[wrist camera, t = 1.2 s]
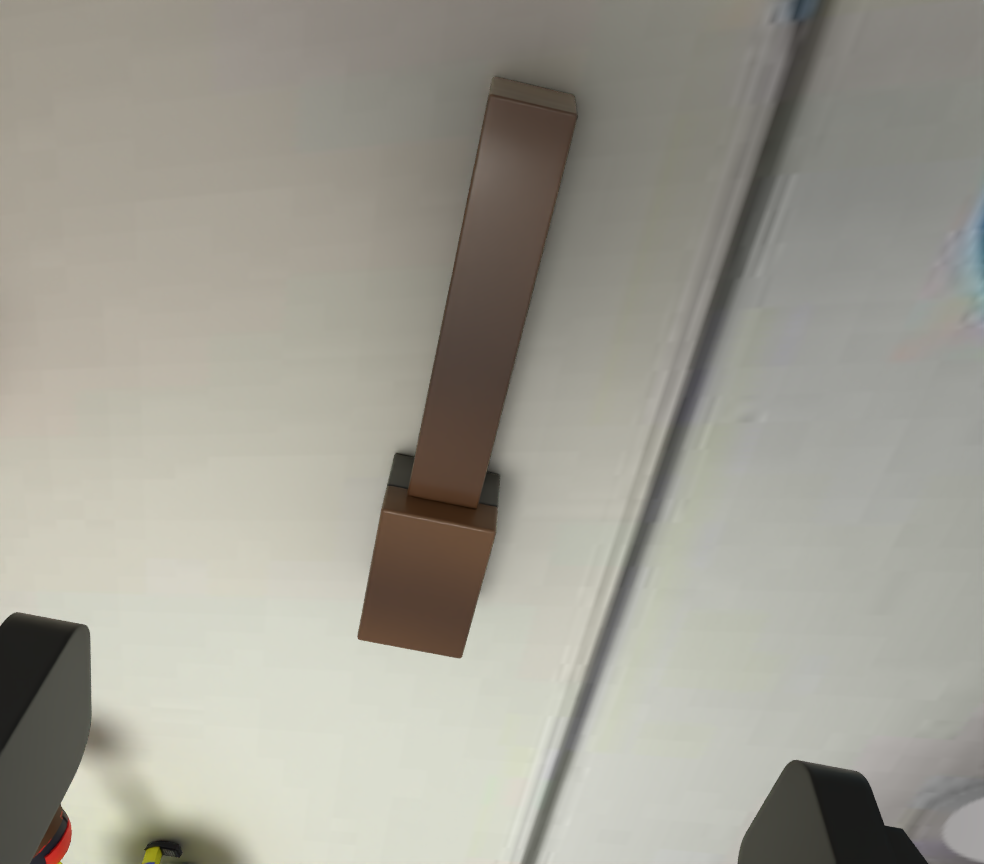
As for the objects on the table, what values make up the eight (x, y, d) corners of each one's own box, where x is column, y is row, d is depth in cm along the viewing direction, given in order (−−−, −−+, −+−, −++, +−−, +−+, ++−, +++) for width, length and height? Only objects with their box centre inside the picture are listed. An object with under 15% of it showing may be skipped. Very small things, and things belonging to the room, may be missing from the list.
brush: (468, 69, 22) (458, 95, 19) (600, 100, 22) (607, 129, 20) (370, 578, 30) (356, 640, 28) (467, 597, 30) (461, 660, 28)
